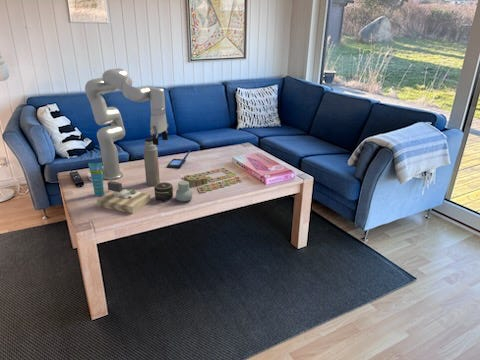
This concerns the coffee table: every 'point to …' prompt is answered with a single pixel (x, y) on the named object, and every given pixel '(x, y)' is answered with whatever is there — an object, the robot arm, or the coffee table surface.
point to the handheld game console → (177, 162)
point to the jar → (163, 191)
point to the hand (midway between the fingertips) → (160, 142)
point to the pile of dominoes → (211, 180)
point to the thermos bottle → (151, 163)
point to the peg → (116, 188)
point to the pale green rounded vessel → (183, 191)
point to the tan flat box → (124, 201)
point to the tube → (97, 178)
